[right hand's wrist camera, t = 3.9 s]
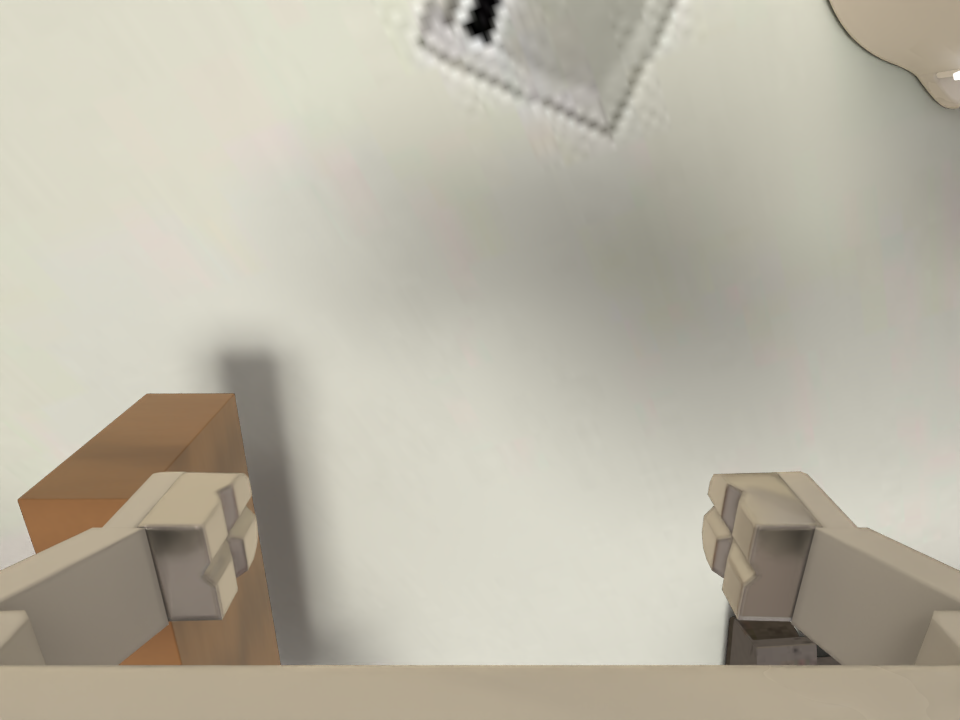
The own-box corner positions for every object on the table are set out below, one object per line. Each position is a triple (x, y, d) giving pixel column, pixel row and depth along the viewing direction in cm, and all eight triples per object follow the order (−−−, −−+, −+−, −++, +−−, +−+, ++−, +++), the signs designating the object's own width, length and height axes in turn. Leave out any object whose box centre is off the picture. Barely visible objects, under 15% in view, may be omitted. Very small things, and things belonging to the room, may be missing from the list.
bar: (146, 393, 31) (16, 499, 22) (234, 392, 31) (139, 499, 22) (229, 752, 41) (162, 922, 32) (295, 751, 41) (246, 921, 32)
